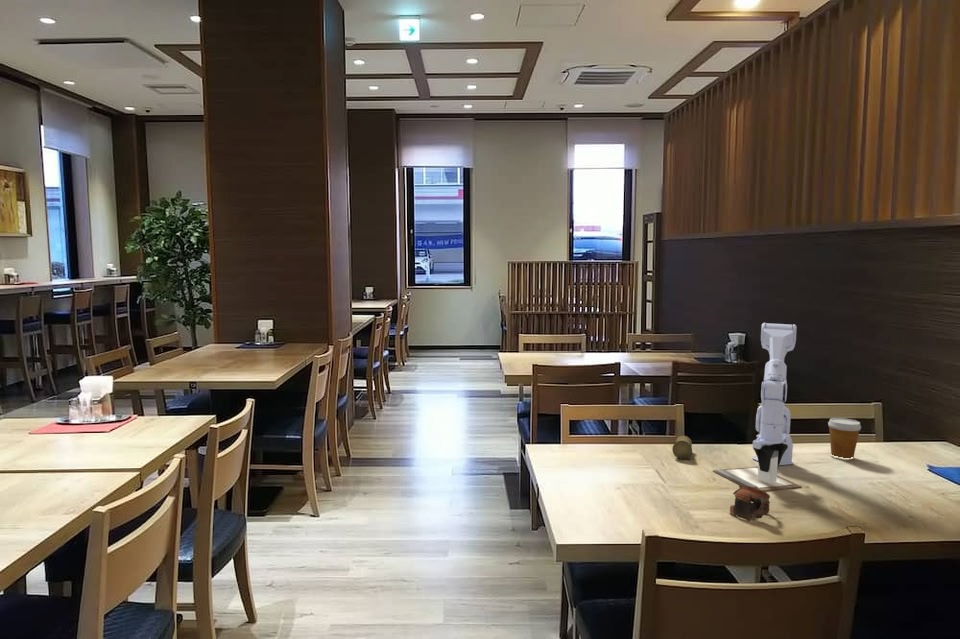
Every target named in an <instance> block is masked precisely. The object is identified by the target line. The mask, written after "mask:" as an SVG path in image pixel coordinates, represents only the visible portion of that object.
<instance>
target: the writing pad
mask: <svg viewBox="0 0 960 639" xmlns="http://www.w3.org/2000/svg"><path fill="white" fill-rule="evenodd" d="M712 472H713V473H715V474H717V475H719V476H721V477H723V479H726V480H728V481H730V482H732V483H734V484H737V485H738V486H740V485H746V486H751V487H754V488H757V489H759V490H762V491H764V492H770V491H771V492H772V491H781V490H783V491H784V490H792V489H794V490H795V489H801V488H802V486H801V485H799V484H797V483H795V482H793V481H791V480H788V479H786V478H784V477H782V476H780V475H778V474H777V482H775V483H772V484H767V483H764V482H761V481H758V465H757V466H749V467H747V466H746V467H745V466H744V467H736V468H725V469H713V470H712Z"/></svg>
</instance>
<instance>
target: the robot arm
mask: <svg viewBox="0 0 960 639" xmlns="http://www.w3.org/2000/svg"><path fill="white" fill-rule="evenodd" d="M760 328H761V329H760V330H761V331H760V342H761V347H762V349H765V350H767V352H768V354H769V361H767V362H765V366H764V375H763V381H762V382H761V390H760V398H761V399H760V400H761V404H760V405H759V406H758V408H756V409H757V410H756V415H755V416H756V417H755V430H756V432H759V433H758V434H756V439H754V440H753V441H752V449H753V450H754V453H755V455H756V456H752V457H751V459H752V460H755V461H757V462H758V465H759V467H760V470H761V471H764V472H768V471H769V467H770V461H771V458H772V455H773V453H774V451H775V450H777V451H779V453H778V466H777V470H778V469H779V467H780V466H785V465H786V466H787V465H794V462H793V451H794V450H793V448H794V443H793V440H792V437H791V436H790V435H789V434H790V432H791V411H790V408H788V407H787V406H785V402H786V401H787V397H788V396H787V394H788V383H787V382H788V381H787V368H788V367H787V364H786V363H785V357H786V355H787V353H788V352H791V351H793V350H794V348H795V346H796V342H797V325H796V324H784V323H767V322H763V323H762V324H761V327H760ZM783 399H784V400H783Z"/></svg>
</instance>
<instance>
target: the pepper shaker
mask: <svg viewBox="0 0 960 639" xmlns="http://www.w3.org/2000/svg"><path fill="white" fill-rule="evenodd" d="M692 442H693V441H692V439H691V438H689V436H686V435H680V436H678V437H677V438H676V439H675V443H673V445H672V454H673V455H674V456H675V457H676V458H677V459H679V460H683V461H684V460H687V459H688V458H690V457H691V456H692V454H693V446H692V445H693V443H692Z"/></svg>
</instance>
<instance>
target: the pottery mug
mask: <svg viewBox="0 0 960 639" xmlns="http://www.w3.org/2000/svg"><path fill="white" fill-rule="evenodd" d="M732 494H733V495H734V497H735V498H734V505H733V504H732V505H730V506H729V515H732V516H736V517H738V518H740V519H744V520H746V521H748V522H749V521H751V518H752V515H753V516H754V518H755V519H762V518H763V516H765V514H769V512H770V504H771V502H770V498H771V496H770V494H768V493H767V491H762V490H759V489H757V488H754V487H751V486H746V485H738V489H737V490H735V491H734V492H733V493H732Z"/></svg>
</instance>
